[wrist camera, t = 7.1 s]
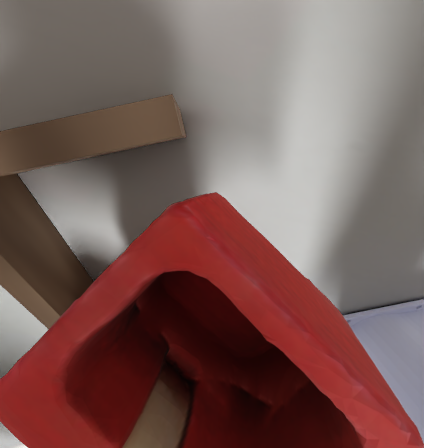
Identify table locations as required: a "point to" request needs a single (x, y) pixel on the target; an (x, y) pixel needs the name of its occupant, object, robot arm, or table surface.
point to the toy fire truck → (202, 352)
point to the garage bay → (33, 214)
